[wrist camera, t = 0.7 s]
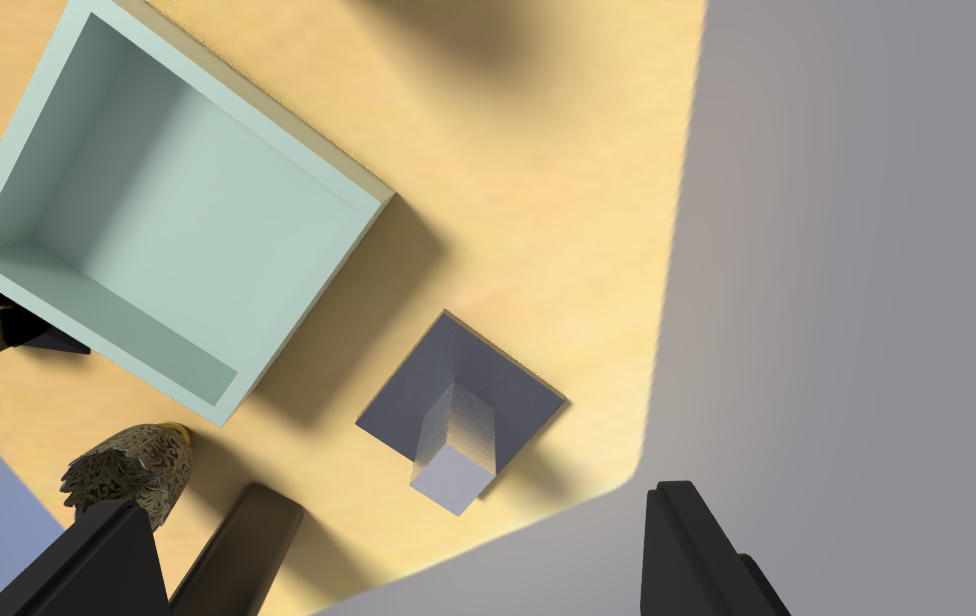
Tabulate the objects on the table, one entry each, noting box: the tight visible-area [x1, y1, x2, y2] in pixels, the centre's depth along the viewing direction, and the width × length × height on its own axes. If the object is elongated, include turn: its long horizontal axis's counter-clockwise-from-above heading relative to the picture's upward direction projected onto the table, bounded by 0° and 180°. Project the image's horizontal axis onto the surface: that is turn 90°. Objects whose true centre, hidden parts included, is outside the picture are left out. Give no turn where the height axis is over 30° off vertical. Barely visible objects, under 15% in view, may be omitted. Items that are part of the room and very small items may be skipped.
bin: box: [0, 0, 396, 428], centre depth 38 cm, size 20×20×6 cm
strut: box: [410, 381, 496, 517], centre depth 41 cm, size 4×4×9 cm
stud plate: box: [355, 309, 565, 475], centre depth 44 cm, size 12×12×5 cm
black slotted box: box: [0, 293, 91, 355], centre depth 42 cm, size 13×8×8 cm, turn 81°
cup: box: [60, 422, 193, 532], centre depth 43 cm, size 8×7×8 cm
